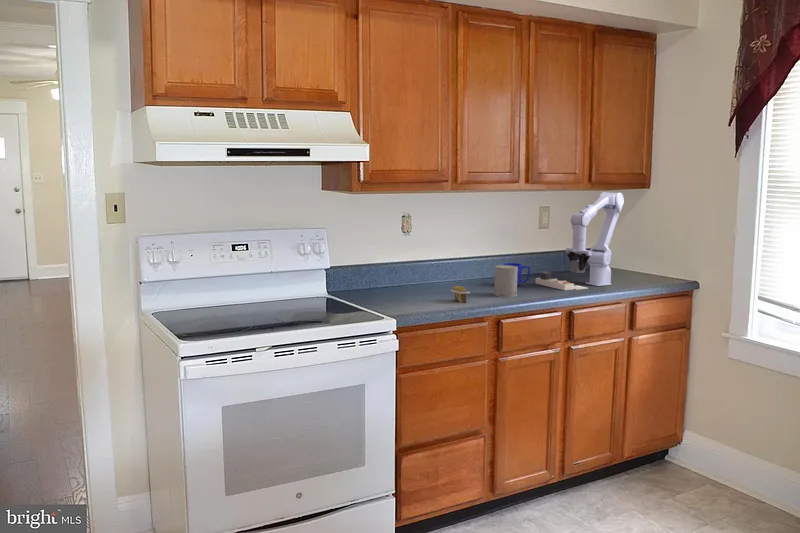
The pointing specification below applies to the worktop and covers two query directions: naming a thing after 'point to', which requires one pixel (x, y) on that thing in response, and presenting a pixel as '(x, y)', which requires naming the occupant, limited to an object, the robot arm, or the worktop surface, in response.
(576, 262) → the block
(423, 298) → the worktop surface
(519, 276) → the mug
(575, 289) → the mat
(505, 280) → the gray concrete cylinder
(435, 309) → the worktop surface
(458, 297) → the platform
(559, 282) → the power strip
